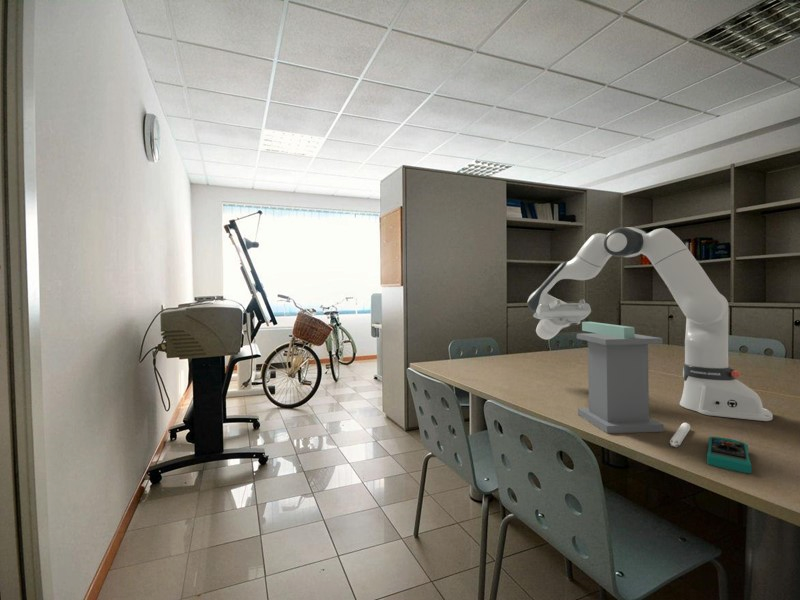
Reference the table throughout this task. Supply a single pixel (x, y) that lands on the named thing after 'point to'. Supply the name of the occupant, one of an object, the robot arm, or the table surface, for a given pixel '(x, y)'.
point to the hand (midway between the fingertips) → (570, 301)
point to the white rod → (680, 435)
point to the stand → (619, 383)
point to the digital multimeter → (728, 454)
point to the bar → (609, 329)
